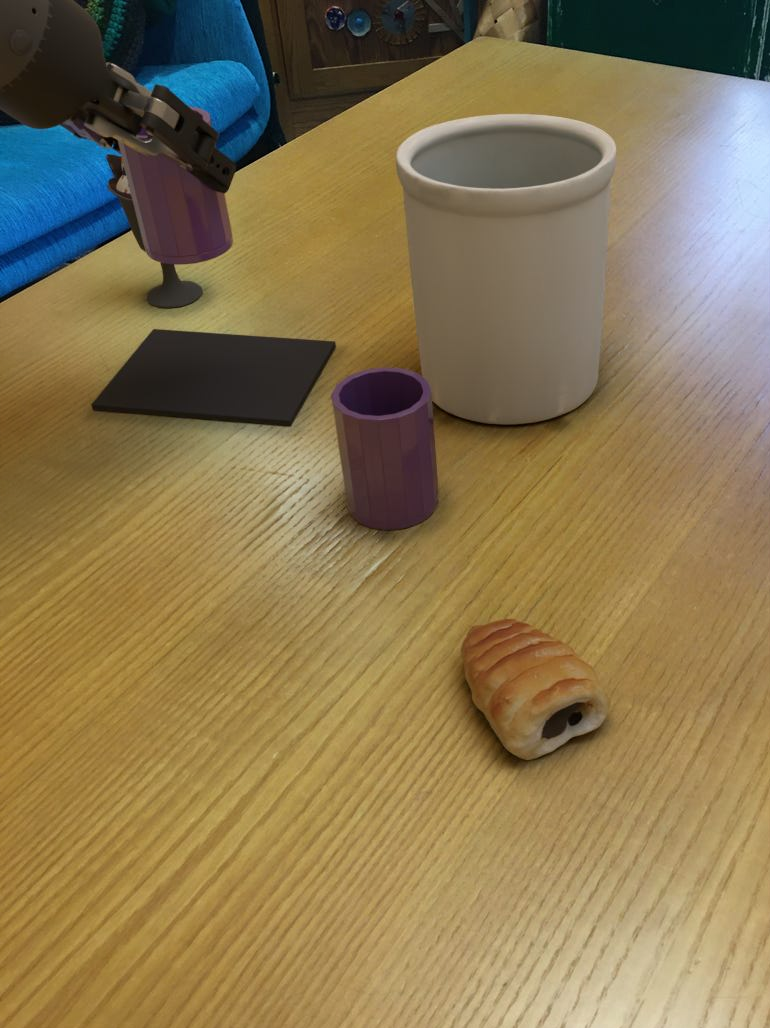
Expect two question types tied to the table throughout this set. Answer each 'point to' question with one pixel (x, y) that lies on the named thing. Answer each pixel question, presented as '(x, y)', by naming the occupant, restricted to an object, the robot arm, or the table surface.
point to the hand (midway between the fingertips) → (192, 169)
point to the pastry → (531, 687)
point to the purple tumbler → (386, 447)
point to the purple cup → (176, 208)
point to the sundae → (172, 287)
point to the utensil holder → (508, 261)
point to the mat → (217, 377)
